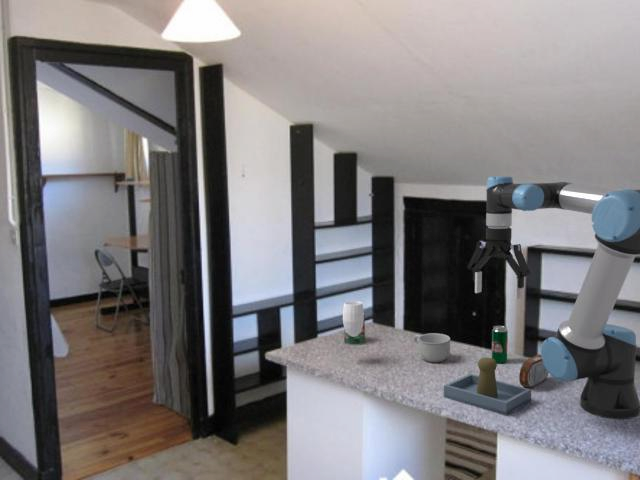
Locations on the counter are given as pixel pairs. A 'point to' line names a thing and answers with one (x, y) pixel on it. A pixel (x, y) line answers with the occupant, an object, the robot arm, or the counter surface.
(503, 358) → the soda can
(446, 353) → the teacup
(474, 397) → the tray
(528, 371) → the tin
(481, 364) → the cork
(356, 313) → the cup
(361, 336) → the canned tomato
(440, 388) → the counter surface
